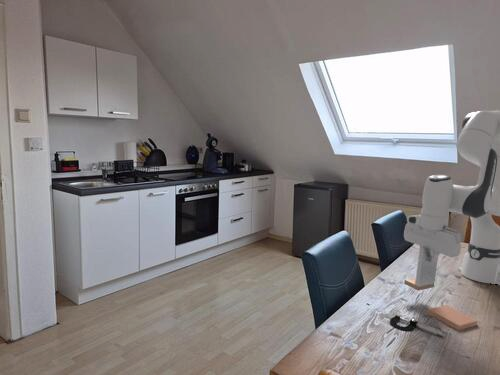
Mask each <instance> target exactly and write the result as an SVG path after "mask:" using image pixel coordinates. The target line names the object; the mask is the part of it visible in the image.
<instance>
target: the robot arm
mask: <svg viewBox="0 0 500 375" xmlns="http://www.w3.org/2000/svg"><path fill="white" fill-rule="evenodd" d="M461 129H462V130H461V131H460V133H459V135H458V138H457V140H456V145H455V147H456V150H457V152H458V154H459V156H461V157H462V158H463V159H464V160H466V161H467V162H469V163H472V164H474V165H476V166H478V167H479V168H480V169H479V174H478V178H477V181H476V182H477V183H476V184H475V185H467V186H466V185H459V184H454V183H453V179H452V177H451V176H449V175H446V174H433V175H430V176H428V177H427V178H426V181H425V183H424V186H423V191H422V196H421V197H422V198H421V201H422V206H421V210H420V213H419V214H416V215H415V214H414V215H408V216H407V217H406V222H407V223H406V224H405V226H404V231H403V238H404V241H406V242H409V243H412V244H414V245H417V246H419V248H420V247H421V246H426V247H428V249H430V250H433V251H432V253H433V255H432V256H431V257H429V260H428V261H429V262H431V263H435V261H436V258H437V256H438V257H439V255H440V254H441V255H444V256H447V257H450V258H456V257H459V256H460V254H461V247H462V245H461V244H462V234H461V232H460V231H459V230H458V229H456V228H453V227H450V226H449V218H450V213H454V214H455V213H456V214H460V215H464V216H467V217H469V218H470V222H471V230H470V231H471V232H470V240H469V242H468V245H467V252H466V253H464V256H463V260H462V264H461V266H459V267H458V270H459V272H460V274H461V275H462V276H463V277H465V278H467V279H469V280H472V281H476V282H479V283H483V284H490V283H491V284H492V285H495V284H498V285H497V286H500V226H499V225H498V223H496V222H495V221H494V219H493V217H492V216H497V217H500V110H499V109H497V110H478V111H472V112H469V113H468V114H467V115H465V116H464V118H463V120H462V124H461Z"/></svg>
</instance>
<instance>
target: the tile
mask: <svg viewBox="0 0 500 375" xmlns="http://www.w3.org/2000/svg"><path fill="white" fill-rule="evenodd" d="M427 313H428V315H430V316H431V317H434V318H435V319H438V320H440V321H441V322H443V323H445V324H447V325H448V326H450V327H452V328H454V329H455V330H457V331H462V330H465V329H468V328H472V327H475V326H478V320H477V319H475V318H474V317H472V316H470V315H467V314H466V313H463V312H461V311H459V310H458V309H455V308H454V307H451V306H450V305H447V304H445V305H441V306H437V307H431V308H429V309H428V311H427Z"/></svg>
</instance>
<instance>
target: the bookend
mask: <svg viewBox="0 0 500 375" xmlns="http://www.w3.org/2000/svg"><path fill="white" fill-rule="evenodd" d="M432 251H433V250H430V249H428V247H426V246H421V247H420V246H419V252H418V259H417V260H418V261H417V269H416V275H415V277H413V278H408V279H405V280H404V283H403V284H404V285H405V286H408V287H410V288H411V289H413V290H416V291H418V292H419V291H423V290H427V289H432V288H435V283H436V282H435V281H436V275H437V267H438V266H437V265H438V260H439V255H438V256H437V258H436V261H435V263H431V262H429V261H428V260H429V257H431V256H432V255H433V253H432Z"/></svg>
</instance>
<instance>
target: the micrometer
mask: <svg viewBox="0 0 500 375" xmlns="http://www.w3.org/2000/svg"><path fill="white" fill-rule="evenodd" d="M399 321H402V322H404V323H406V324H407V323H408V325H407V326H403V325H400V324H397V323H398V322H399ZM389 324H390V326H392V328H394V329H397V330H399V331H403V332H412V331H414V330H415V328H416V329H418V330H420V331H423V332H425V333H428V334H431V335H434V336H436V337H437V336H440V337H441V338H445V336H446V334H445V332H442V331H440V329H439V328H435V327H433V326H431V325H428V324H425V323H423V322H419V321H417V319H416V318H411V319H410V320H409V319H406V318H403V317H401V316H400V315H396V314H395V316H394V317H392V318H390V320H389Z"/></svg>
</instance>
